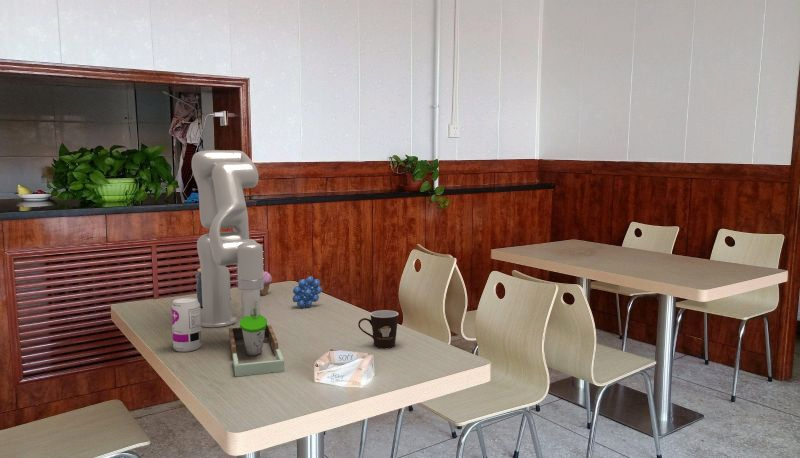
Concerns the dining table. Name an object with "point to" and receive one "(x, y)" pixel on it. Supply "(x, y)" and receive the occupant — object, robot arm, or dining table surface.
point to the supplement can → (186, 324)
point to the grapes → (307, 292)
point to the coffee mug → (383, 328)
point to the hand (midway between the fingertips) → (252, 343)
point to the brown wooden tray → (238, 339)
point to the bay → (259, 366)
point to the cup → (253, 332)
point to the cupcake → (266, 283)
